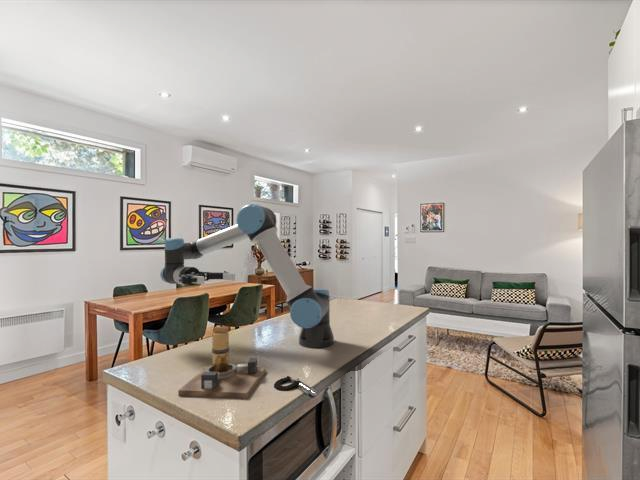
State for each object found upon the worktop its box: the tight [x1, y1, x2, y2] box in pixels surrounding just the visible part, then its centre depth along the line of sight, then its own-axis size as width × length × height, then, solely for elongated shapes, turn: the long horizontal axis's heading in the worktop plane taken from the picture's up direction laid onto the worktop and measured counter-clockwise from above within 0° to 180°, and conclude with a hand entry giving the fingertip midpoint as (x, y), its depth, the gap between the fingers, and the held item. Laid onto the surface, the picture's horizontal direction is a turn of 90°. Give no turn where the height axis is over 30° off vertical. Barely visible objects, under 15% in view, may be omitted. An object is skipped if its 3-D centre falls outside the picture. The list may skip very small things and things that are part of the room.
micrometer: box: [273, 375, 317, 398], centre depth 95 cm, size 15×7×2 cm, turn 37°
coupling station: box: [177, 357, 267, 399], centre depth 101 cm, size 20×19×5 cm
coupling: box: [211, 326, 230, 373], centre depth 105 cm, size 5×5×15 cm
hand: (219, 278), depth 122 cm, fingers open, 13 cm apart
